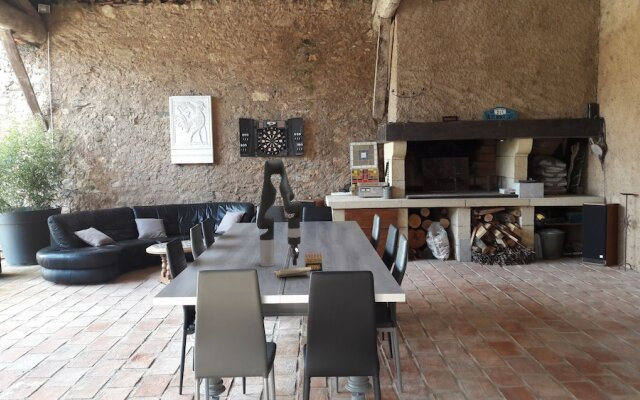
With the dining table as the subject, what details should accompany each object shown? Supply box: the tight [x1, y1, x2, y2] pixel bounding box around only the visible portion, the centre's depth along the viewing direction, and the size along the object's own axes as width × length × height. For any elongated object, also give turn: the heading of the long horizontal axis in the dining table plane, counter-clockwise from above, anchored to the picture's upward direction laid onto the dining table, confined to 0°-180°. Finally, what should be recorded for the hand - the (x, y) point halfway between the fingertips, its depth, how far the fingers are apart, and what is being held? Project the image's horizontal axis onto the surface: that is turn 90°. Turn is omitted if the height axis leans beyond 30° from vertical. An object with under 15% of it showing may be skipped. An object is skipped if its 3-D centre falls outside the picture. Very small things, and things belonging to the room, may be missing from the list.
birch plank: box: [277, 266, 311, 278], centre depth 295 cm, size 10×18×2 cm, turn 108°
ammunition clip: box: [304, 251, 323, 272], centre depth 312 cm, size 11×2×12 cm, turn 93°
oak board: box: [273, 270, 280, 278], centre depth 304 cm, size 9×18×2 cm, turn 108°
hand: (294, 265), depth 293 cm, fingers closed
